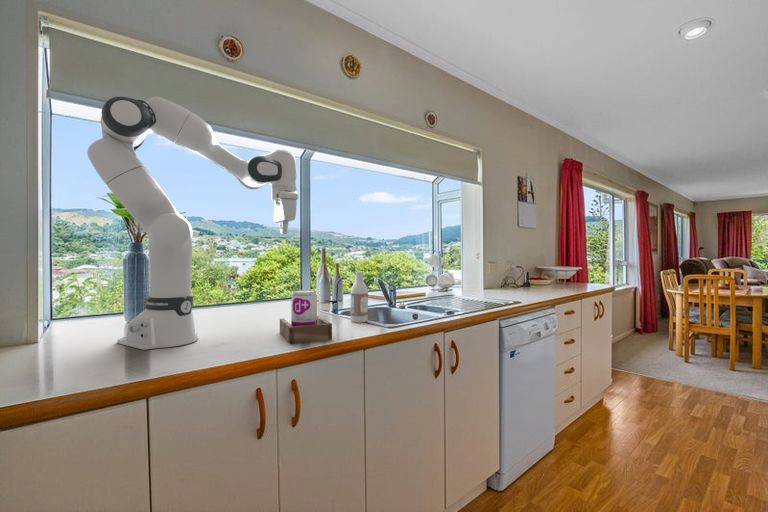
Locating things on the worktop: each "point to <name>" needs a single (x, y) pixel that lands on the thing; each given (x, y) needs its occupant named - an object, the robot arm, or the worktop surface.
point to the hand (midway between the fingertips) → (283, 234)
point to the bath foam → (359, 300)
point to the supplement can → (303, 308)
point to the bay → (306, 331)
